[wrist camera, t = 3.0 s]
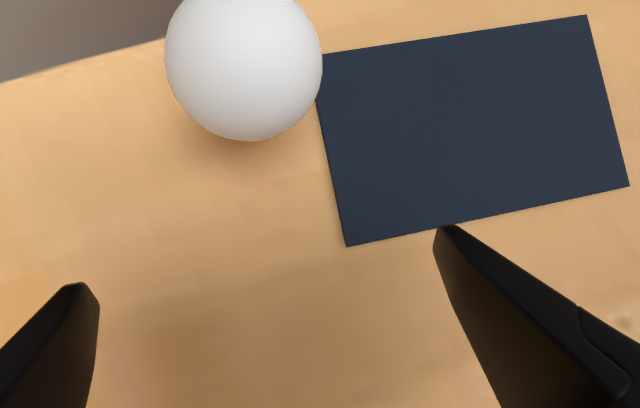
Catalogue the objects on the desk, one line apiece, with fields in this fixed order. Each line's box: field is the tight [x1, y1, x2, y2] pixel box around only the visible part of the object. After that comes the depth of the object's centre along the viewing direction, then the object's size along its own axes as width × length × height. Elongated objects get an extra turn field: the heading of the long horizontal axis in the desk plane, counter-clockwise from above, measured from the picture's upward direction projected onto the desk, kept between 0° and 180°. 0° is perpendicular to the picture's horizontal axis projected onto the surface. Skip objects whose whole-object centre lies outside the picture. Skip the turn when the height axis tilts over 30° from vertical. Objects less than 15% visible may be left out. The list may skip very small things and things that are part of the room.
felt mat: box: [315, 15, 630, 247], centre depth 24 cm, size 20×12×1 cm, turn 102°
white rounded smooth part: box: [164, 0, 322, 142], centre depth 18 cm, size 6×6×11 cm
